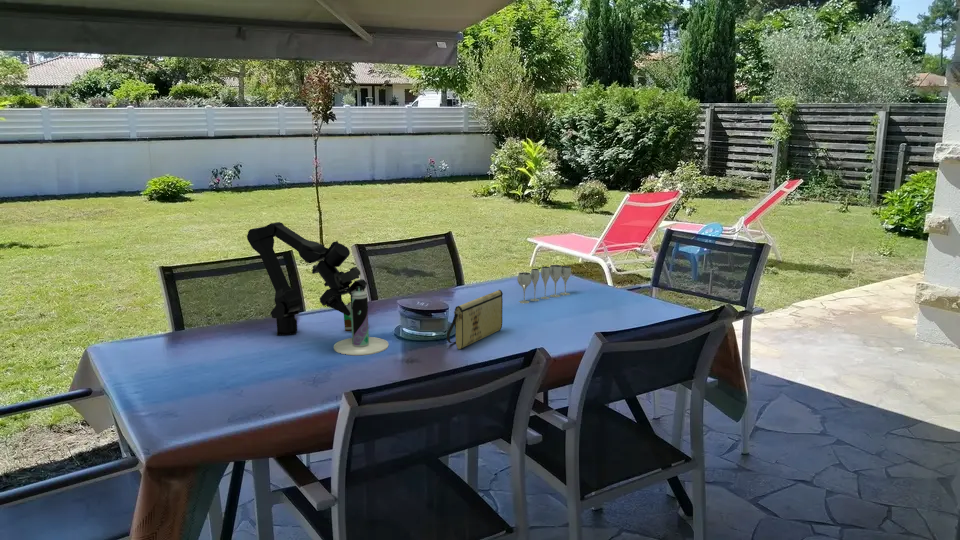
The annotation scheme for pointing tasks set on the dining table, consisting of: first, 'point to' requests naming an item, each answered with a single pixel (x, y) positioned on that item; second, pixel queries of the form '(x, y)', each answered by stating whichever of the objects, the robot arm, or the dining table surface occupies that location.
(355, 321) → the spray can
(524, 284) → the goblet set
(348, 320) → the food container
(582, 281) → the dining table surface
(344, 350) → the cream round disc
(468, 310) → the clutch purse
